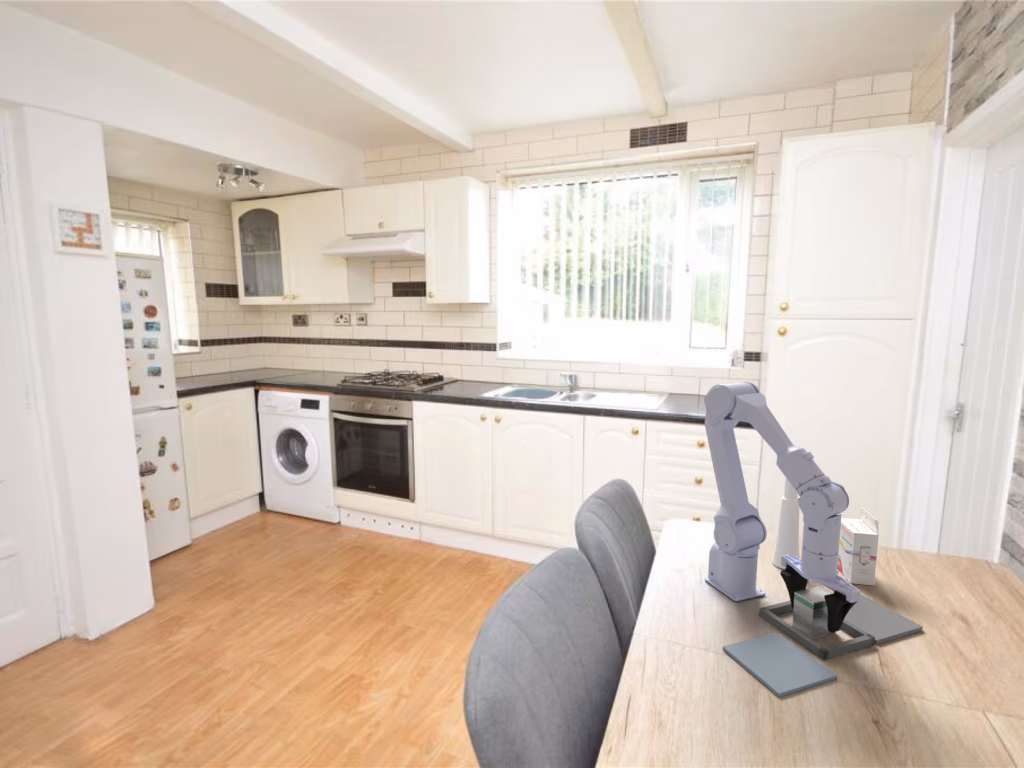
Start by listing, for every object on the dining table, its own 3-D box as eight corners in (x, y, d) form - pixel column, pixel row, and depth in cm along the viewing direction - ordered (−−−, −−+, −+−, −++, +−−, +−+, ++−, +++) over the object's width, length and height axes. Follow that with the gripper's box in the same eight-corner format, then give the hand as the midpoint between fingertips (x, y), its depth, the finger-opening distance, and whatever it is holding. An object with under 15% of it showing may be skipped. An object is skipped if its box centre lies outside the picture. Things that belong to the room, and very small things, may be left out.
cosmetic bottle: (803, 572, 116) (810, 478, 113) (773, 568, 118) (779, 476, 115) (797, 560, 122) (804, 470, 119) (769, 556, 124) (775, 468, 121)
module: (792, 626, 96) (794, 591, 95) (816, 620, 98) (818, 586, 97) (810, 639, 92) (813, 603, 91) (835, 632, 94) (838, 597, 93)
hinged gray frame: (758, 615, 100) (759, 608, 100) (850, 592, 108) (850, 585, 108) (823, 660, 87) (824, 652, 86) (922, 630, 95) (923, 623, 94)
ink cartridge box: (833, 565, 120) (838, 504, 118) (857, 567, 119) (862, 506, 117) (849, 584, 111) (855, 519, 109) (875, 586, 110) (881, 520, 108)
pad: (722, 649, 90) (722, 646, 89) (775, 635, 93) (776, 632, 93) (778, 697, 78) (779, 693, 78) (836, 678, 82) (837, 675, 82)
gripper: (875, 563, 88) (868, 636, 89) (802, 530, 101) (797, 595, 103) (845, 569, 85) (839, 645, 87) (774, 535, 99) (770, 601, 101)
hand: (814, 618), depth 95 cm, fingers open, 7 cm apart
